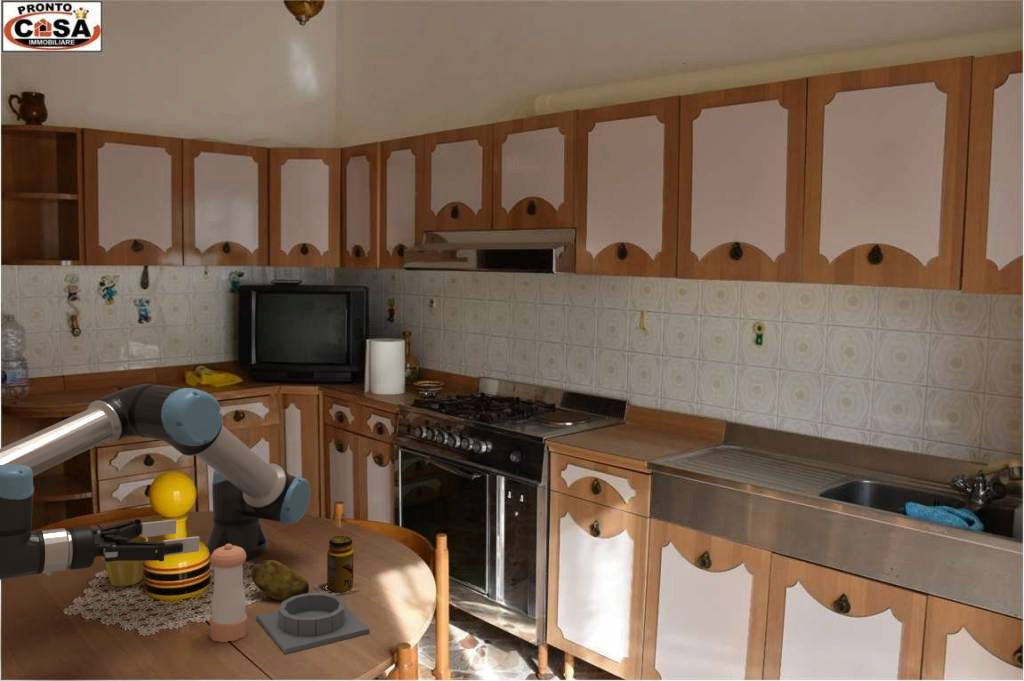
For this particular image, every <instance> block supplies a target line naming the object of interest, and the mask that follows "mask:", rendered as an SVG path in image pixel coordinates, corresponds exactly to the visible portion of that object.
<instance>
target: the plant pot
mask: <svg viewBox="0 0 1024 681" xmlns="http://www.w3.org/2000/svg"><path fill="white" fill-rule="evenodd" d="M131 541H145V542H150V541H149V538H148V537H141V534H140V536H138V537H136V538H133V539H131ZM100 558H101V560H102V561H103V562H104V564H105V568H106V571H107V575H108V579H109V583H110V584H111V585H112V586H114V587H120V588H123V587H130V586H134V585H136V584H138V583H140V582H141V580H142V578H143V571H144V568H143V561H111V562H105V558H104V557H103V556H100Z"/></svg>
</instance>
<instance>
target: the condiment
mask: <svg viewBox="0 0 1024 681" xmlns="http://www.w3.org/2000/svg"><path fill="white" fill-rule="evenodd" d="M328 543H329V545H328V549H327V552H326V553H327V556H326V559H327V563H326V565H327V566H326V567H327V568H326V569H327V570H326V571H327V572H326V573H327V574H326V576H327V578H326V583H321V584H315V585H313V586H314V588H315V589H316V591H318V593H322V591H323V593H324V591H325V592H326V591H328V590H329V591H331V592H334V593H345V592H347V591H350V590H351V589H352V588H353V585H354V555H355V554H354V549H353V539H352V538H351V537H350V536H347V535H337V536H333V537H331V538H330V539H329V541H328ZM326 585H327V586H328V587H327V589H328V590H326V589H325V586H326ZM323 587H324V588H323ZM345 594H349V593H348V592H347V593H345ZM332 595H335V594H332ZM338 595H340V594H337V595H336V596H338Z"/></svg>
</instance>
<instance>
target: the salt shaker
mask: <svg viewBox="0 0 1024 681" xmlns="http://www.w3.org/2000/svg"><path fill="white" fill-rule="evenodd" d="M246 557H247V556H246V553H245V551H244V549H243V548H241V547H238V546H233V545H232V544H226V545H225V546H223V547H220V548H218V549H216V550H214V552H213V553H212V555H211V557H210V559H209V560H210V563H211V565H212V566H213V567H214V571H213V572H214V575H213V576H214V578H213V579H214V581H213V582H214V585H213V590H212V591H213V592H212V598H211V618H210V619H209V636H210V639H211V638H212V639H211V640H212V641H214V642H217V641H219V643H229V642H228V641H232V642H234V641H233V640H236V639H239V638H241V639H243V638H245V637H246V636H247V634H248V616H247V614H246V605H247V604H246V603H247V602H246V601H247V600H246V595H245V589H244V588H245V587H244V583H243V582H244V581H243V580H244V578H243V575H244V574H243V573H244V572H243V564H244V563H245V562H246ZM245 635H246V636H245ZM242 637H243V638H242ZM239 640H240V639H239ZM236 641H237V640H236Z"/></svg>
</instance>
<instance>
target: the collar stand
mask: <svg viewBox="0 0 1024 681" xmlns="http://www.w3.org/2000/svg"><path fill="white" fill-rule="evenodd" d="M256 620H257V621H259V622H258V623H259V624H260V626H262V627H263V629H264V630H265V632H267V633H268V635H269V636H270V637H271V639H272V640H273V641H274V643H275V644H276V645H277V646H278V647H279V648H280V650H281V651H282V653H283V654H284V655H287V654H291V653H295V652H300V651H304V650H308V649H310V648H311V649H312V648H316V647H320V646H323V645H327V644H331V643H335V642H336V643H337V642H339V641H344V640H347V639H352V638H356V637H360V636H365V635H368V634H370V628H369V627H368V626H367V625H366V624H365V623H364V622H363V621H362V620H361V619H359V618H358V617H357V616H356V615H355V614H354V613H353V612H352V611H351V610H350V609H349V608H348V607H347V606H346V601H345V600H344V599H343V598H341V597H340V596H338V595H332V594H328V593H320V592H308V593H306V594H301V595H297V596H294V597H291V598H289V599H287V600H285V601H281V603H280V605H279V608H278V610H274V611H273V610H272V611H269V612H263V613H258V614H256Z"/></svg>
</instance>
